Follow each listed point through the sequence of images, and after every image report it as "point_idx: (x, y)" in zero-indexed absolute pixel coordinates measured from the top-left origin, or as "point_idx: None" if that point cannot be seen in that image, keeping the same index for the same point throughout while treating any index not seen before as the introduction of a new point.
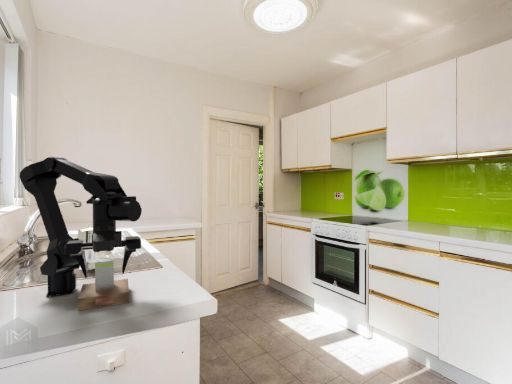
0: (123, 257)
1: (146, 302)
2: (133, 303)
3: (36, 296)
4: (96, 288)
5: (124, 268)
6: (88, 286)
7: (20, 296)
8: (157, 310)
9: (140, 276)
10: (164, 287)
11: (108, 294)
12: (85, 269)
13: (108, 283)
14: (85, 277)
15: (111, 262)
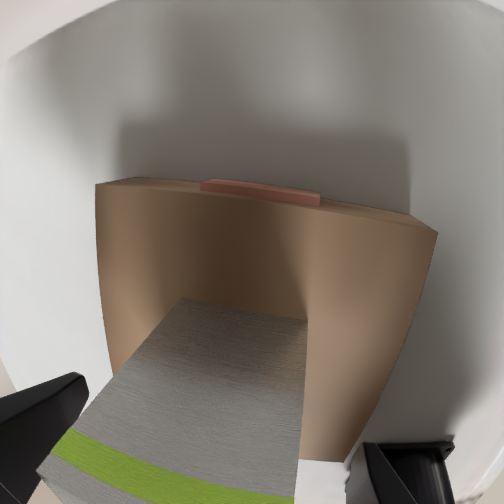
0: (24, 481)
1: (72, 139)
2: (119, 154)
3: (465, 453)
4: (298, 333)
5: (41, 386)
6: (327, 428)
7: (487, 461)
8: (64, 33)
9: None
10: (22, 289)
11: (222, 197)
12: (385, 502)
13: (200, 331)
14: (372, 444)
15: (67, 469)
